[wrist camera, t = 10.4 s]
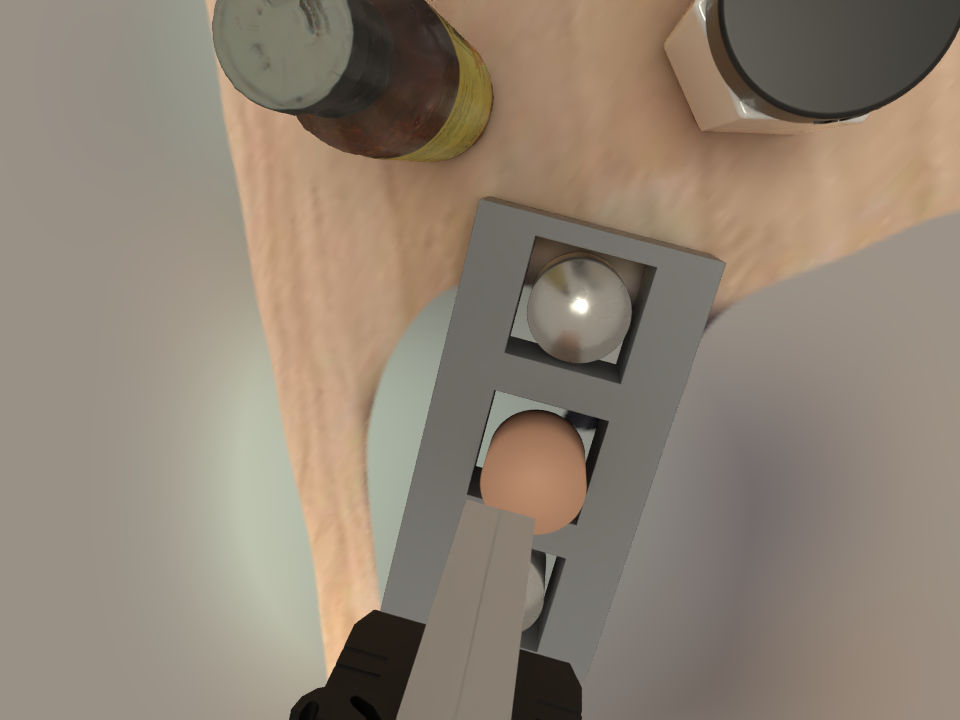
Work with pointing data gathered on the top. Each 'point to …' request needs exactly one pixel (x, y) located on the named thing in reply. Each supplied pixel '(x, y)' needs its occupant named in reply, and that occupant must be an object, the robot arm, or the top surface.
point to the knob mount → (573, 386)
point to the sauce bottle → (359, 73)
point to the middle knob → (536, 469)
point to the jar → (804, 59)
